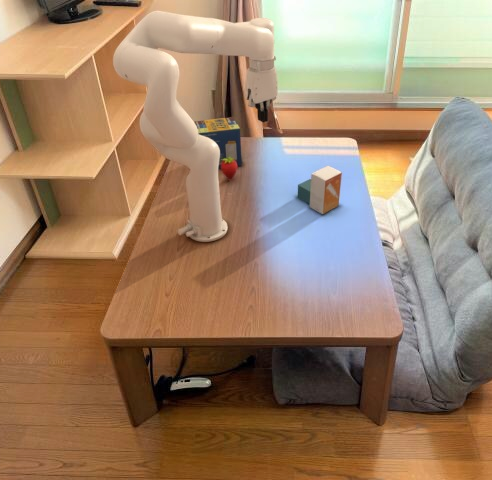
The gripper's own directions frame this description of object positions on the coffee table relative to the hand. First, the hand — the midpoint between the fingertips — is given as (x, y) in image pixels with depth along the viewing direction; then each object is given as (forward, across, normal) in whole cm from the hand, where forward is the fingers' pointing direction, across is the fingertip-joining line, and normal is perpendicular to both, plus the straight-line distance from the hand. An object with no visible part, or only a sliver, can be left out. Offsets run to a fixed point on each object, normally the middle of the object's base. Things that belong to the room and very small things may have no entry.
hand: (262, 120), depth 158 cm
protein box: (+25, +1, -25) cm, 36 cm away
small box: (+25, -7, +23) cm, 35 cm away
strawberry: (+25, +6, -12) cm, 29 cm away
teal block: (+25, -7, +16) cm, 30 cm away
